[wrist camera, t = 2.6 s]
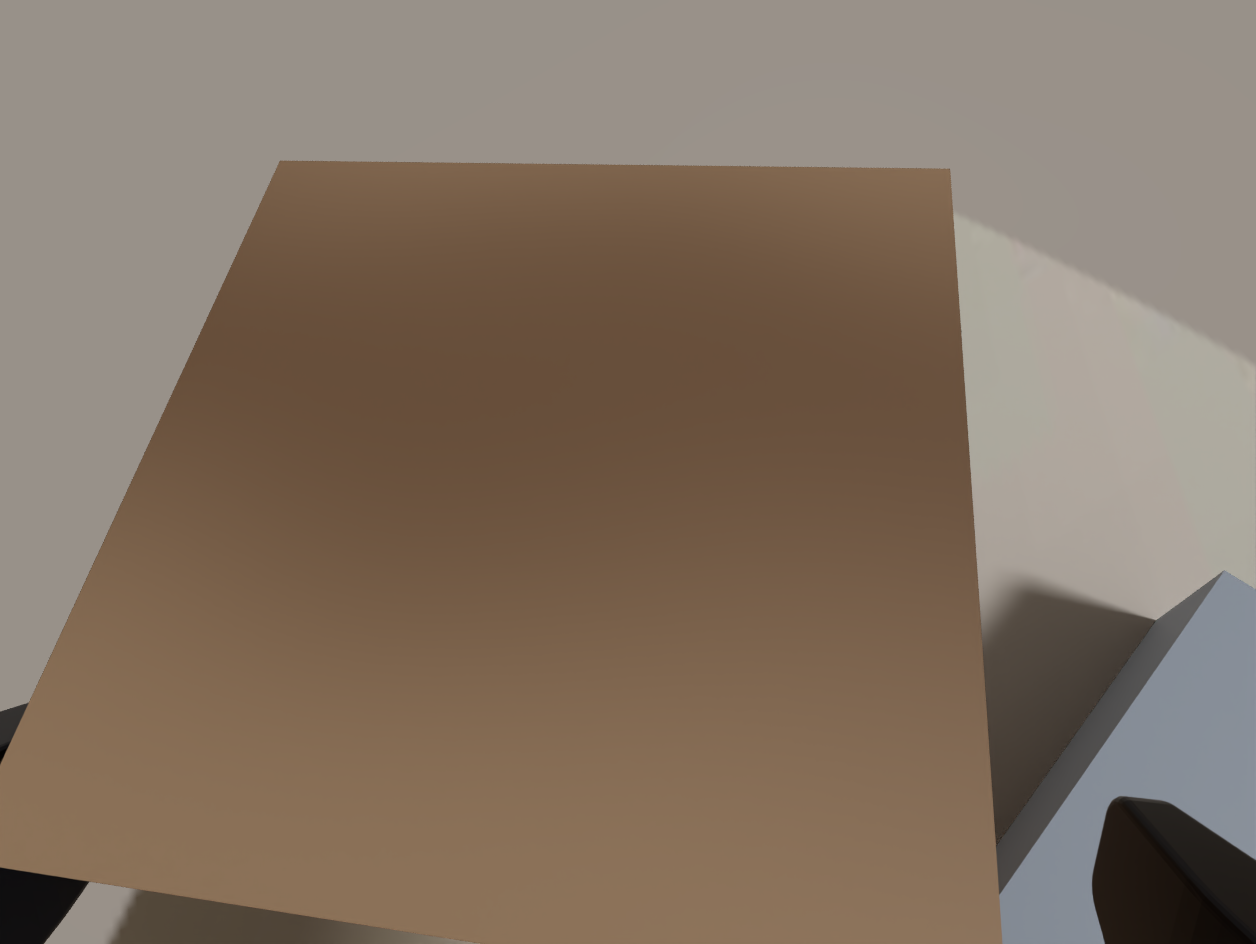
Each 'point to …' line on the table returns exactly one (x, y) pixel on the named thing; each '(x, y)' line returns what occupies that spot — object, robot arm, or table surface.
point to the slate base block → (1142, 762)
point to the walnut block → (547, 572)
